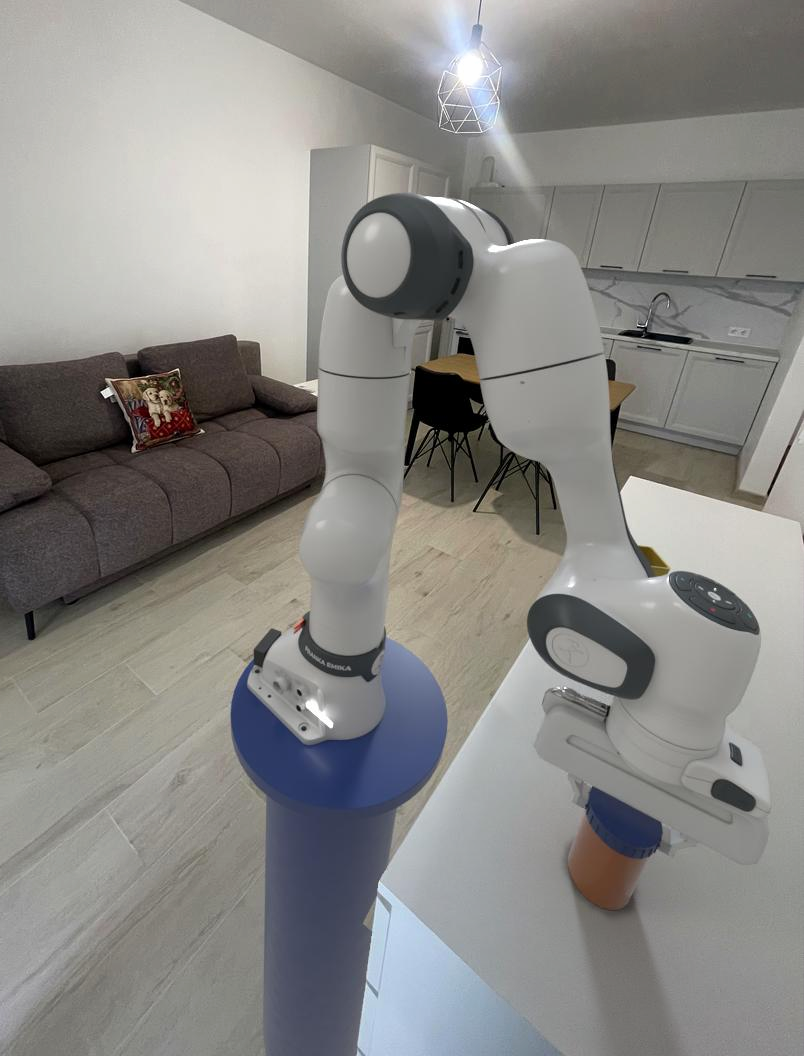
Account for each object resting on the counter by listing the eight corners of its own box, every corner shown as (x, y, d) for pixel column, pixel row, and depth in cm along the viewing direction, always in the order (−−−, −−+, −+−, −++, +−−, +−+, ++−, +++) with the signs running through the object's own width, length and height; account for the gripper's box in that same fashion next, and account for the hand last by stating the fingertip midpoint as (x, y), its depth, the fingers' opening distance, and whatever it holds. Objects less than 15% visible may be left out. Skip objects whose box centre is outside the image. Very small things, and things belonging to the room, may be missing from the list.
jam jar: (562, 883, 55) (585, 822, 51) (572, 831, 61) (594, 772, 57) (627, 925, 52) (657, 863, 48) (632, 866, 57) (660, 806, 54)
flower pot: (640, 579, 113) (652, 546, 110) (658, 604, 105) (671, 568, 102) (601, 575, 114) (611, 541, 110) (616, 599, 106) (628, 563, 102)
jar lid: (579, 831, 52) (583, 819, 51) (589, 777, 58) (593, 766, 57) (656, 875, 49) (662, 864, 48) (659, 813, 54) (664, 802, 54)
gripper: (541, 699, 50) (515, 791, 55) (796, 820, 41) (736, 919, 46) (554, 662, 55) (529, 749, 61) (783, 761, 46) (731, 856, 51)
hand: (620, 823), depth 53 cm, fingers closed on jar lid, 7 cm apart
